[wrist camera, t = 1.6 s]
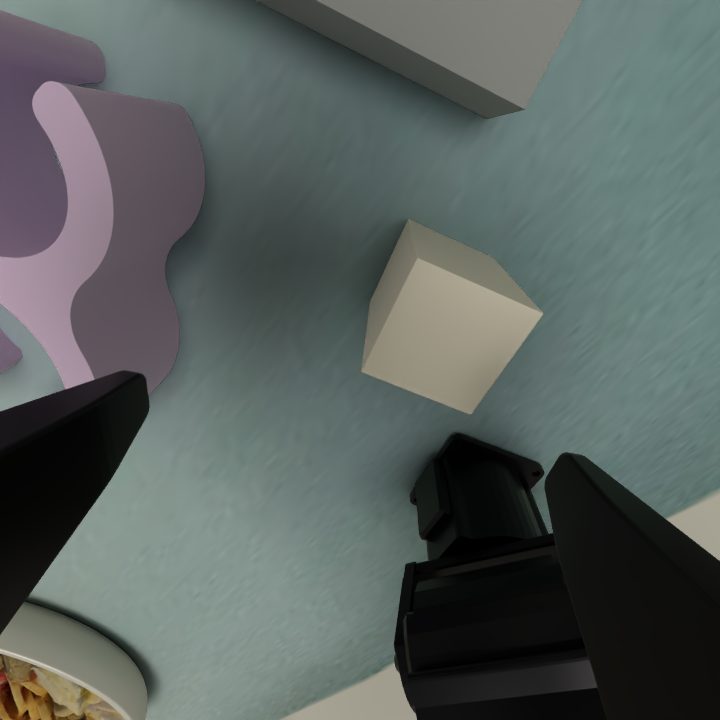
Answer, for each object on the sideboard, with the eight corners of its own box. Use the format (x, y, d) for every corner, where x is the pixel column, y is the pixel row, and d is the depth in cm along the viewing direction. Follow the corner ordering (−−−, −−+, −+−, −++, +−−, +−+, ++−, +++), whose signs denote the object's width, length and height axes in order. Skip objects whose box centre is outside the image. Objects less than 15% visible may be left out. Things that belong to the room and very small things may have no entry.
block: (492, 257, 18) (543, 313, 12) (446, 334, 21) (470, 414, 14) (408, 218, 18) (417, 257, 12) (369, 302, 20) (361, 371, 14)
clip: (-17, -38, 14) (-305, -168, 8) (272, 171, 17) (210, 186, 11) (-62, 342, 23) (-219, 412, 17) (135, 440, 26) (59, 528, 20)
